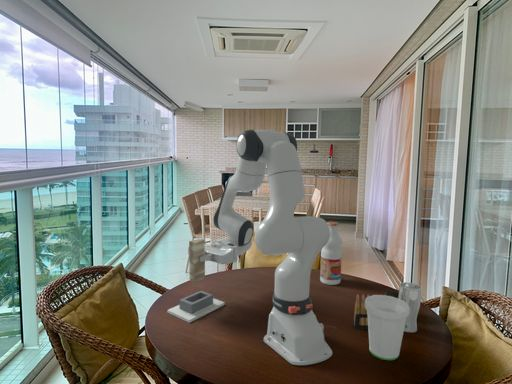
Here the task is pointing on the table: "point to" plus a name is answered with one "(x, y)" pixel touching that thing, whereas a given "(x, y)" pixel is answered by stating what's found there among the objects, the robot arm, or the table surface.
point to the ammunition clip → (360, 313)
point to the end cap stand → (195, 306)
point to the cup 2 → (386, 325)
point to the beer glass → (410, 303)
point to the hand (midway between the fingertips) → (195, 258)
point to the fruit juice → (331, 257)
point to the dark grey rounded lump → (392, 293)
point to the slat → (196, 260)
